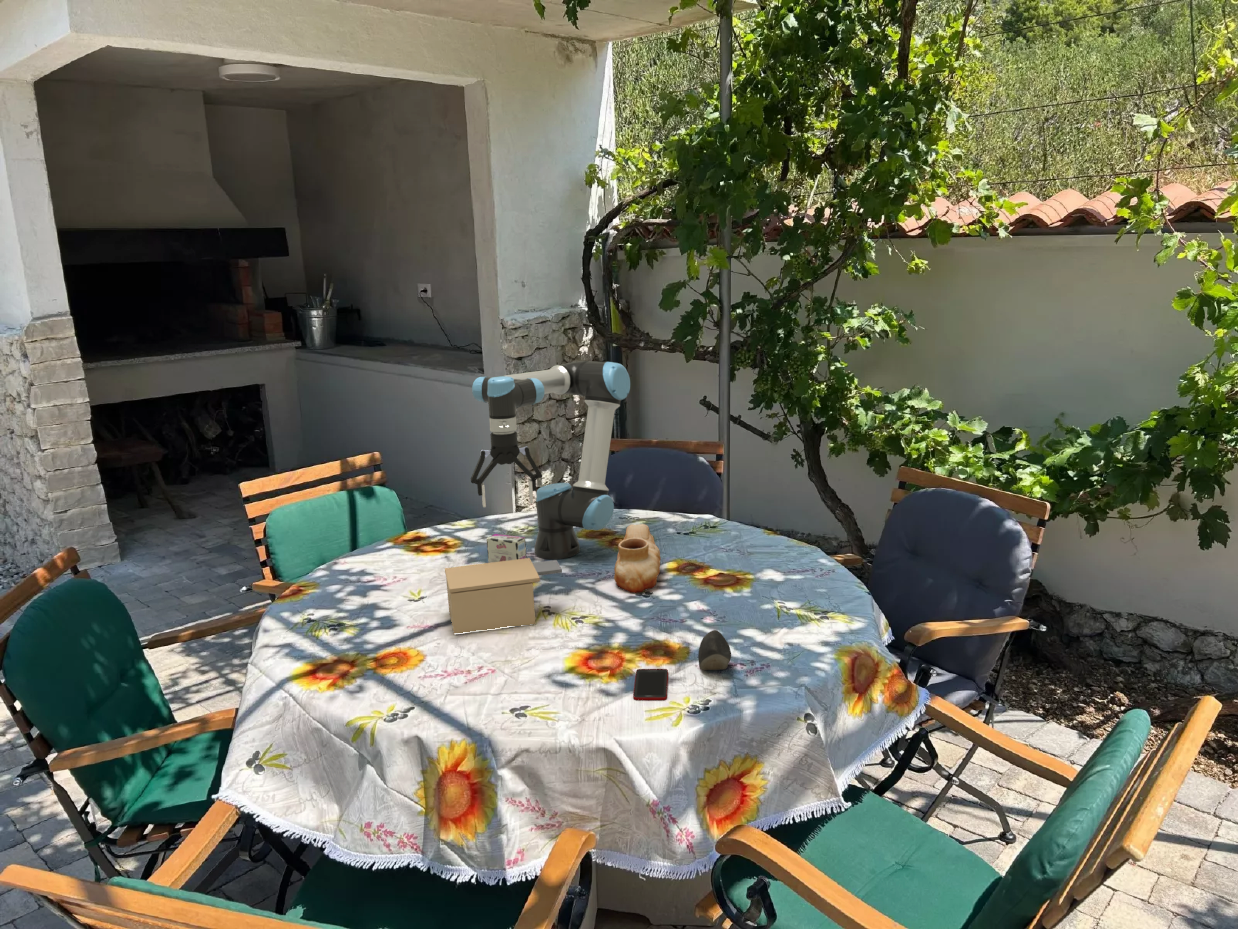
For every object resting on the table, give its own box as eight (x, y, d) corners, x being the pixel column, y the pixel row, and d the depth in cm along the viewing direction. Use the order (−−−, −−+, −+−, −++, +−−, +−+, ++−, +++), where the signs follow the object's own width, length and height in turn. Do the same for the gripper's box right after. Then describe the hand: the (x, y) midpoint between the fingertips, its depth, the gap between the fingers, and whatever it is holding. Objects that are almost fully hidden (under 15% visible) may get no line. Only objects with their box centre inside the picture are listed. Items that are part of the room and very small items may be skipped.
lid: (553, 558, 271) (553, 554, 271) (565, 578, 255) (565, 574, 255) (444, 571, 264) (444, 568, 264) (449, 592, 248) (449, 589, 248)
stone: (702, 675, 228) (694, 656, 220) (698, 648, 233) (691, 628, 225) (734, 670, 226) (728, 650, 219) (730, 642, 231) (724, 622, 224)
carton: (525, 602, 272) (523, 563, 269) (535, 624, 256) (532, 583, 253) (449, 612, 267) (445, 572, 264) (454, 635, 251) (450, 593, 248)
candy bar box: (529, 588, 282) (526, 537, 278) (520, 594, 278) (516, 542, 274) (499, 583, 288) (495, 532, 284) (489, 589, 283) (485, 537, 279)
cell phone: (668, 672, 226) (668, 668, 226) (666, 702, 212) (666, 698, 212) (636, 672, 227) (636, 668, 227) (632, 702, 213) (632, 698, 212)
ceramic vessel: (663, 563, 299) (661, 518, 296) (658, 594, 274) (657, 546, 270) (620, 563, 301) (618, 519, 297) (611, 594, 275) (609, 546, 272)
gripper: (459, 437, 259) (465, 511, 264) (549, 431, 264) (552, 503, 269) (458, 432, 267) (463, 504, 271) (545, 426, 272) (548, 497, 276)
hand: (507, 504), depth 270 cm, fingers open, 13 cm apart
